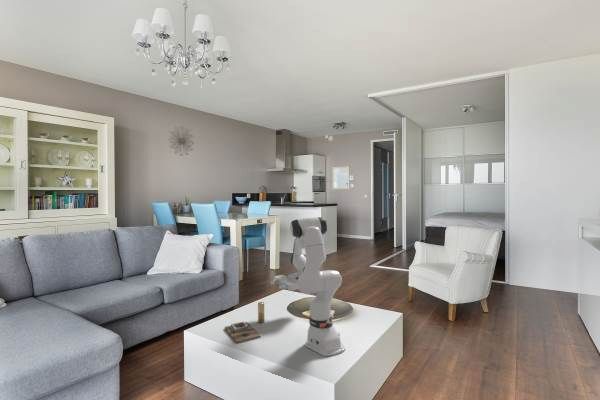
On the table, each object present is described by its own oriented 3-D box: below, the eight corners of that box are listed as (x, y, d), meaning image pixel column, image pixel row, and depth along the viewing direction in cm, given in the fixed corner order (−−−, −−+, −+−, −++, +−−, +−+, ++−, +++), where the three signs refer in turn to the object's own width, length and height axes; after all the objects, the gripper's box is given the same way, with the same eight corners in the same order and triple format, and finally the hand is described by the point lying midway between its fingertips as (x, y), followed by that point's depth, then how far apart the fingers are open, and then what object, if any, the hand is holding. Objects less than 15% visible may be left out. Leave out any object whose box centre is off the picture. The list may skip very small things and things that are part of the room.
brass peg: (265, 322, 212) (265, 303, 211) (259, 323, 210) (259, 304, 209) (263, 320, 215) (262, 301, 215) (257, 321, 213) (256, 302, 213)
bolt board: (260, 337, 191) (260, 331, 190) (236, 343, 184) (236, 337, 184) (246, 323, 210) (246, 318, 210) (224, 328, 203) (224, 323, 203)
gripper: (284, 271, 232) (266, 276, 224) (301, 280, 215) (283, 285, 207) (284, 280, 233) (267, 285, 225) (302, 289, 216) (283, 295, 208)
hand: (275, 285), depth 216 cm, fingers open, 8 cm apart
